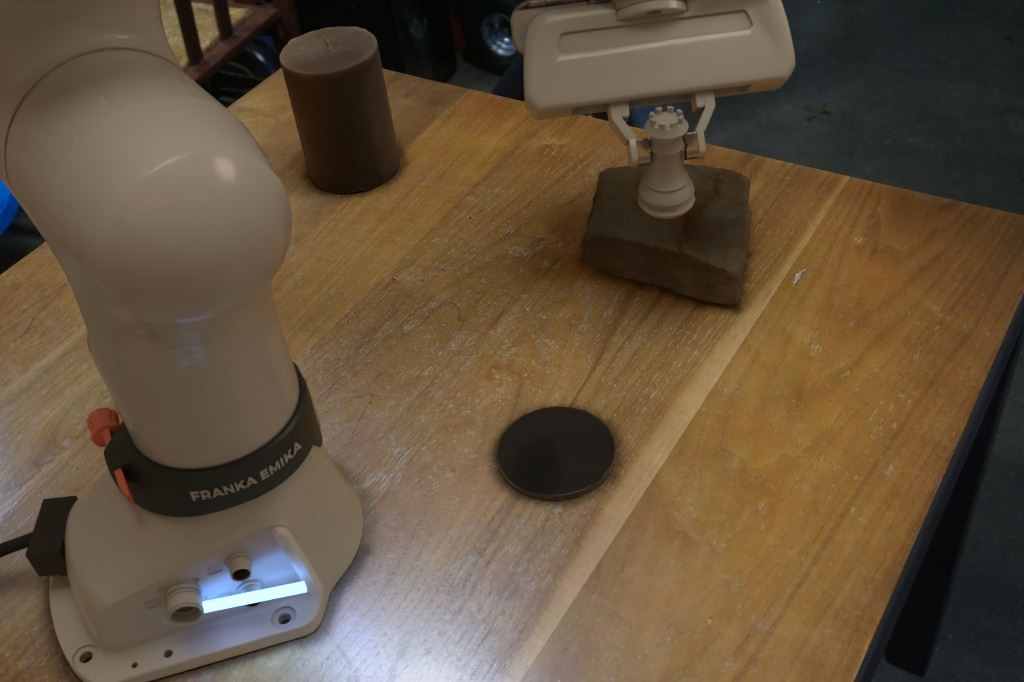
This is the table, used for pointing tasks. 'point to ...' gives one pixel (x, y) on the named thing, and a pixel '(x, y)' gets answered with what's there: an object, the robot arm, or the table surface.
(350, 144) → the pillar candle
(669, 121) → the rook chess piece
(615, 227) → the flat brown rock
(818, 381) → the table surface
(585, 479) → the slate coaster
